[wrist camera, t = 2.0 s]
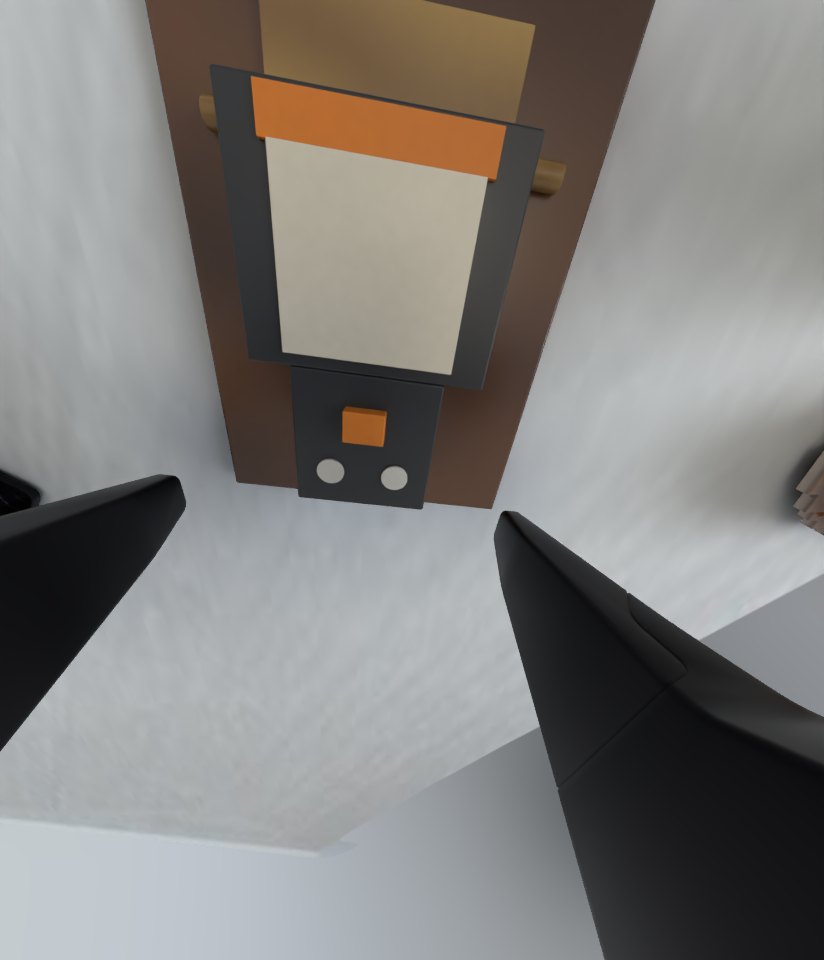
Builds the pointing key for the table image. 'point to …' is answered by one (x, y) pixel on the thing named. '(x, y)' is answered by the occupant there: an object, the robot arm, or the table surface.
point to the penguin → (368, 265)
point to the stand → (425, 81)
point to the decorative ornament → (812, 497)
